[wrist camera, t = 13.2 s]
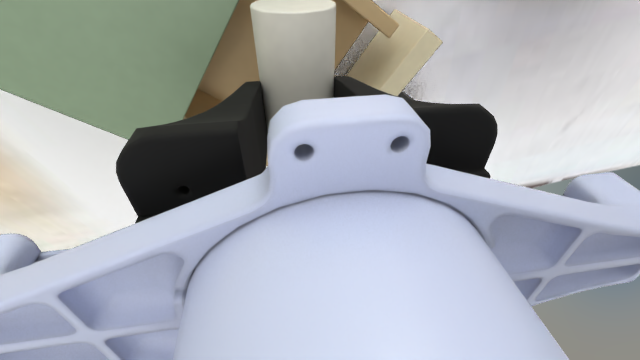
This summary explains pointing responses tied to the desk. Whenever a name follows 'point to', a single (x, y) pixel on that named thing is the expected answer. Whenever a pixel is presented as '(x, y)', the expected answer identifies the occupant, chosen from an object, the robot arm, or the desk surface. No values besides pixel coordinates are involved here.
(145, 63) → the box
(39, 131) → the desk surface
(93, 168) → the desk surface
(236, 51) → the drawer
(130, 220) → the desk surface
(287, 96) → the glue stick
